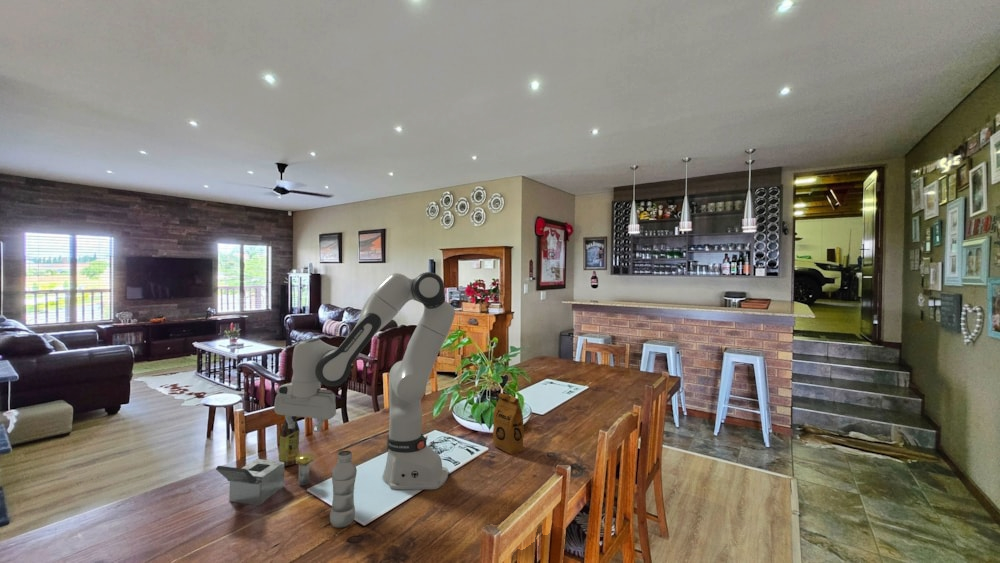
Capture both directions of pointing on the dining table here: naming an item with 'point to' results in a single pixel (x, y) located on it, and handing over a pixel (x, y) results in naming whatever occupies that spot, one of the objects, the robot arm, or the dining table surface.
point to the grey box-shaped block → (268, 484)
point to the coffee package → (508, 425)
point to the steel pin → (304, 467)
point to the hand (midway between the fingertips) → (304, 429)
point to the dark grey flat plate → (237, 475)
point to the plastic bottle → (343, 491)
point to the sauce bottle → (289, 443)
